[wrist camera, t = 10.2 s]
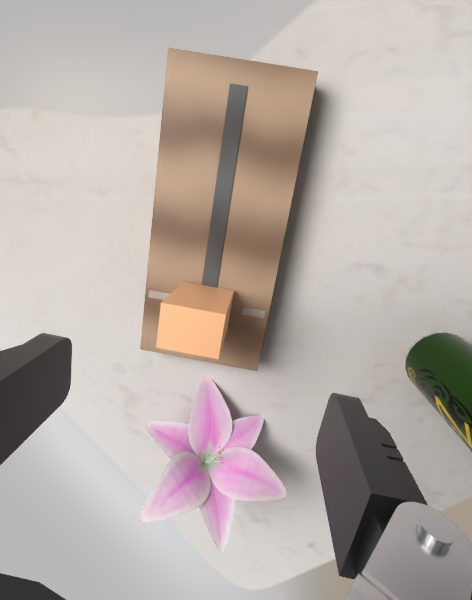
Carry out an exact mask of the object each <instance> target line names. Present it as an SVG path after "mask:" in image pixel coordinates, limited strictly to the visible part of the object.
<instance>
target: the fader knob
mask: <svg viewBox="0 0 472 600" xmlns="http://www.w3.org/2000/svg"><path fill="white" fill-rule="evenodd" d="M233 295H234V291H233V290H228V289H222V288H217V287H211V286H206V285H200V284H195V283H189V282H183V283H181V284H180V285H179V286H178V287H177V288H176V289H175V290H174V291H173V292H172V293H171V294H170V295H169V296H167V297H166V298H165V299H164V300H163V301H162V302H161V306H160V315H159V325H158V334H157V344H156V348H161V349H166V350H171V351H177V352H182V353H187V354H193V355H198V356H203V357H209V358H214V359H219V356H220V352H221V349H222V345H223V342H224V339H225V335H226V332H227V329H228V324H229V318H230V312H231V306H232V301H233Z"/></svg>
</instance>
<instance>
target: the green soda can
mask: <svg viewBox="0 0 472 600" xmlns="http://www.w3.org/2000/svg"><path fill="white" fill-rule="evenodd" d="M406 372H407V375H408V377H409V378H410V380H411V381H412V382H413V383H414V384H415V386H416V387H417V388H418V389H419V390H420V391H421V393H422V394H423V395H424V396H425V397H426V398H427V400H428V401H429V402H430V403H431V404H432V405H433V407H434V408H435V409H436V410H437V411H438V412H439V414H440V415H441V416H442V417H443V418H444V419H445V421H446V422H447V423H448V424H449V425H450V426H451V428H452V429H453V430H454V431H455V432H456V433H457V435H458V436H459V437H460V438H461V439H462V440H463V442H464V443H465V444H466V445H467V446H468V447H469V449H470V450H471V451H472V345H470V344H469V343H467V342H466V341H464V340H463V339H461V338H459V337H458V336H456V335H453V334H448V333H435V334H429V335H426V336H423V337H421V338H420V339H418V340H417V341H415V342H414V343H413V345H412V346H411V347H410V348H409V350H408V353H407V355H406Z"/></svg>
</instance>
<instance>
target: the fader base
mask: <svg viewBox="0 0 472 600" xmlns="http://www.w3.org/2000/svg"><path fill="white" fill-rule="evenodd" d="M317 75H318V71H312V70H306V69H299V68H293V67H287V66H280V65H274V64H268V63H261V62H255V61H249V60H243V59H235V58H230V57H224V56H217V55H211V54H204V53H198V52H192V51H186V50H180V49H173V48H168V56H167V68H166V78H165V89H164V100H163V110H162V121H161V132H160V143H159V153H158V164H157V175H156V186H155V197H154V207H153V218H152V229H151V240H150V250H149V261H148V272H147V283H146V294H145V304H144V315H143V326H142V337H141V347H140V349H142V350H147V351H153V352H158V353H163V354H169V355H174V356H179V357H185V358H190V359H195V360H201V361H206V362H211V363H217V364H222V365H227V366H233V367H238V368H243V369H249V370H254V371H257V369H258V364H259V359H260V355H261V350H262V345H263V340H264V335H265V330H266V325H267V320H268V315H269V310H270V305H271V301H272V296H273V291H274V286H275V281H276V276H277V271H278V266H279V261H280V256H281V251H282V246H283V242H284V237H285V232H286V227H287V222H288V217H289V212H290V207H291V202H292V197H293V192H294V188H295V183H296V178H297V173H298V168H299V163H300V158H301V153H302V148H303V143H304V138H305V133H306V129H307V124H308V119H309V114H310V109H311V104H312V99H313V94H314V89H315V84H316V79H317ZM183 282H189V283H195V284H200V285H206V286H211V287H217V288H222V289H228V290H233V291H234V295H233V301H232V306H231V312H230V318H229V324H228V329H227V332H226V335H225V339H224V342H223V345H222V349H221V352H220V356H219V359H214V358H209V357H203V356H198V355H193V354H187V353H182V352H177V351H171V350H166V349H161V348H156V344H157V334H158V325H159V315H160V306H161V302H162V301H163V300H164V299H165V298H166V297H167V296H169V295H170V294H171V293H172V292H173V291H174V290H175V289H176V288H177V287H178V286H179V285H180V284H181V283H183Z"/></svg>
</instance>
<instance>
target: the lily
mask: <svg viewBox="0 0 472 600" xmlns="http://www.w3.org/2000/svg"><path fill="white" fill-rule="evenodd" d="M263 422H264V418H263V417H262V416H260V415H255V416H248V417H243V418H239V419H236V420H233V421H232V418H231V415H230V411H229V409H228V407H227V404H226V402H225V400H224V398H223V397H222V395H221V393H220V391H219V389H218V388H217V386H216V385H215V383H214V382H213V381H212V380H211V379H209V378H207V377H205V378H204V379H203V380H202V382H201V384H200V387H199V390H198V392H197V395H196V398H195V402H194V405H193V408H192V411H191V414H190V419H189V423H188V424H185V423H179V422H169V421H154V422H148V423H147V424H146V428H147V430H148V431H149V433H150V435H151V436H152V437H153V439H154V440H155V441H156V443H157V444H158V445H159V446H160V448H161V449H162V450H163V451H164V452H165V453H166V454H167V455H168V457H169V458H170V459H171V461H170V462H169V463H168V465H167V466H166V468H165V469H164V471H163V472H162V474H161V476H160V477H159V479H158V481H157V482H156V484H155V486H154V487H153V489H152V491H151V492H150V494H149V496H148V498H147V500H146V502H145V503H144V506H143V508H142V510H141V513H140V521H142V522H144V523H149V522H156V521H160V520H164V519H168V518H171V517H174V516H177V515H180V514H183V513H186V512H189V511H191V510H194V509H195V508H197V507H200V510H201V513H202V515H203V518H204V521H205V523H206V525H207V528H208V530H209V532H210V534H211V536H212V538H213V541H214V543H215V544H216V546H217V548H218V550H220V551H221V552H222V551H223V550H224V549H225V547H226V544H227V541H228V538H229V534H230V530H231V526H232V521H233V516H234V508H235V499H236V500H242V501H274V500H280V499H284V498H285V497H286V496H287V492H286V489H285V487H284V485H283V484H282V482H281V481H280V479H279V478H278V477H277V475H276V474H275V473H274V471H273V470H272V469H271V468H270V467H269V465H268V464H267V463H266V462H265V461H264V460H263V459H262V458H261V457H260V456H259V455H258V454H256V453H255V452H254V451H252V448H253V446H254V444H255V443H256V440H257V438H258V436H259V434H260V431H261V428H262V426H263Z"/></svg>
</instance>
